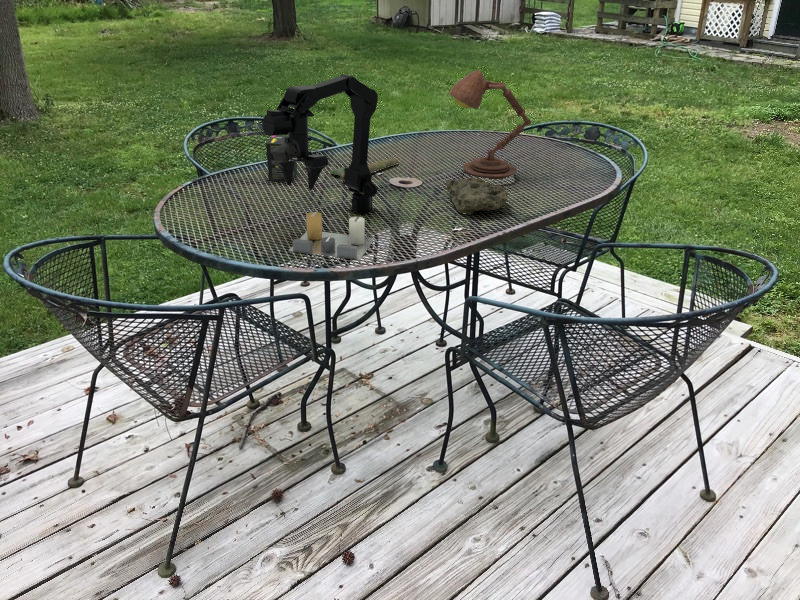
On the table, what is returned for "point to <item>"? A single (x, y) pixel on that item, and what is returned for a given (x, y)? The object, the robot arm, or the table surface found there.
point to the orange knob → (314, 225)
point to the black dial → (327, 244)
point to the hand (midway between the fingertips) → (299, 187)
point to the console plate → (341, 246)
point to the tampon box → (273, 168)
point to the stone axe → (372, 166)
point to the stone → (475, 195)
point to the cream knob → (356, 230)
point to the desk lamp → (471, 96)
